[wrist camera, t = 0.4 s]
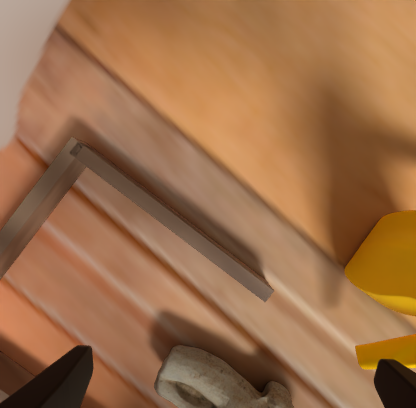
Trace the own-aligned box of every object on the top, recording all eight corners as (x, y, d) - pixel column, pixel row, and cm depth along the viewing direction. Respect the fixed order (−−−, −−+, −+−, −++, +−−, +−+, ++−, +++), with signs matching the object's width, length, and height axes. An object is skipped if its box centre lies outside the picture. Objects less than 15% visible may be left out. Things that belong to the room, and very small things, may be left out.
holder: (127, 459, 23) (118, 491, 20) (-54, 328, 22) (-87, 345, 20) (266, 280, 22) (274, 290, 20) (87, 143, 22) (71, 136, 19)
